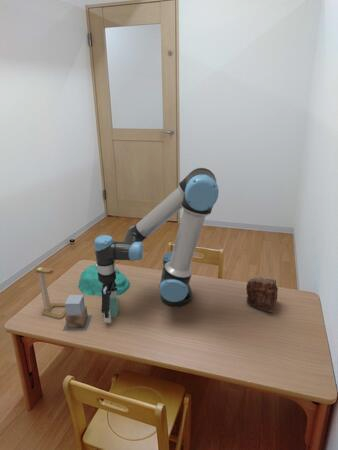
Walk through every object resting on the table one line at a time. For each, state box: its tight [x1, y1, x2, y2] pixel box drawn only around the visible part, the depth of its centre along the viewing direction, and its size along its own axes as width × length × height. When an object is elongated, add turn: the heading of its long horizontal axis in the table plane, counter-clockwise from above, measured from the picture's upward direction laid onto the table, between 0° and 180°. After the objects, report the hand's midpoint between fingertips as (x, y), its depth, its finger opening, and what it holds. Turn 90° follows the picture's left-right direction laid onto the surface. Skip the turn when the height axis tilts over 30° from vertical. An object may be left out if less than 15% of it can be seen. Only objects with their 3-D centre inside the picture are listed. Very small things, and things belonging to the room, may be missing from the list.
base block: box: [64, 305, 89, 328], centre depth 142 cm, size 7×7×6 cm
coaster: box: [62, 314, 93, 332], centre depth 143 cm, size 10×10×1 cm
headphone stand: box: [35, 266, 66, 320], centre depth 146 cm, size 10×11×22 cm
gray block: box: [64, 294, 86, 316], centre depth 139 cm, size 6×6×6 cm
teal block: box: [102, 297, 120, 318], centre depth 148 cm, size 6×6×6 cm
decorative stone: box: [77, 264, 131, 297], centre depth 168 cm, size 21×27×10 cm
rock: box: [245, 277, 279, 313], centre depth 147 cm, size 14×12×15 cm
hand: (110, 312), depth 149 cm, fingers open, 13 cm apart
